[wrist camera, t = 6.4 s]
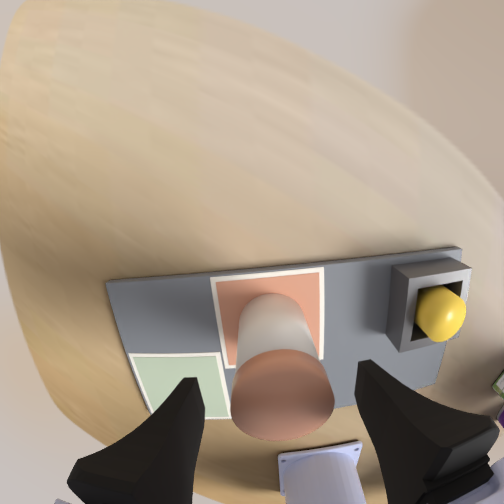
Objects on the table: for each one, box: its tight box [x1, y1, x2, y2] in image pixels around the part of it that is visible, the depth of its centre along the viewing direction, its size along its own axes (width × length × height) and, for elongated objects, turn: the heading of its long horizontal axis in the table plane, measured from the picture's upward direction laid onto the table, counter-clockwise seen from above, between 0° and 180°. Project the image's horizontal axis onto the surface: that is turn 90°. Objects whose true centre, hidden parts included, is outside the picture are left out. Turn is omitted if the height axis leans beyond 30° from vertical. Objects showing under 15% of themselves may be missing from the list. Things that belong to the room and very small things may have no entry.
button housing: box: [385, 257, 472, 353], centre depth 16 cm, size 5×5×2 cm
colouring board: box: [105, 247, 462, 419], centre depth 19 cm, size 12×24×1 cm, turn 95°
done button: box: [414, 284, 466, 342], centre depth 15 cm, size 3×3×3 cm
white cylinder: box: [230, 293, 335, 441], centre depth 14 cm, size 4×4×8 cm
